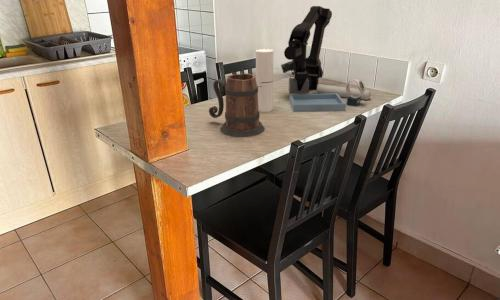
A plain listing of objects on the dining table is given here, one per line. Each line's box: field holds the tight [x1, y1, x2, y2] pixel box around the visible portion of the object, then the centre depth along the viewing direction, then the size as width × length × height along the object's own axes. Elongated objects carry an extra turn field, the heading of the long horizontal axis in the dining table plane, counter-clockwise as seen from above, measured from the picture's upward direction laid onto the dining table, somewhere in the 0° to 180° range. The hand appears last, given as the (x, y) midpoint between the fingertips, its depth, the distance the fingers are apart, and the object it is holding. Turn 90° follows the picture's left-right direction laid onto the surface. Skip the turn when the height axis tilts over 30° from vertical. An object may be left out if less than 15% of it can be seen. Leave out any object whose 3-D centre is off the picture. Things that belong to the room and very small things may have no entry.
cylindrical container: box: [255, 48, 274, 113], centre depth 156 cm, size 7×7×25 cm
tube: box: [315, 83, 372, 101], centre depth 175 cm, size 5×5×25 cm
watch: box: [345, 78, 366, 107], centre depth 163 cm, size 6×8×11 cm
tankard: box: [208, 73, 266, 138], centre depth 138 cm, size 24×17×20 cm
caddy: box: [288, 74, 310, 94], centre depth 176 cm, size 5×9×8 cm, turn 90°
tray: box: [288, 93, 347, 113], centre depth 164 cm, size 16×22×3 cm
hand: (298, 89), depth 177 cm, fingers closed on caddy, 5 cm apart
